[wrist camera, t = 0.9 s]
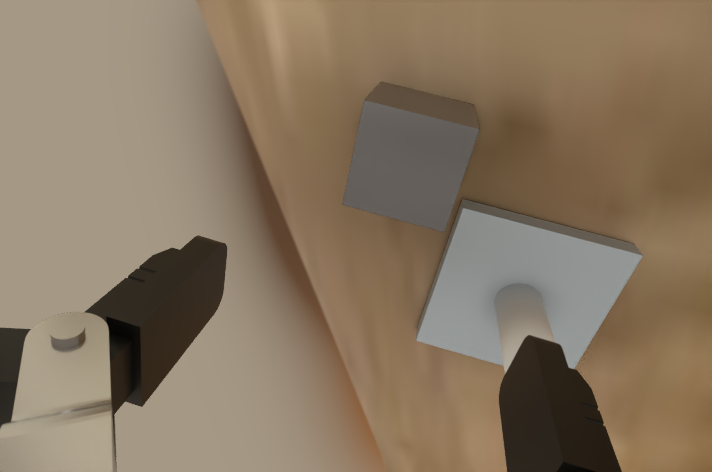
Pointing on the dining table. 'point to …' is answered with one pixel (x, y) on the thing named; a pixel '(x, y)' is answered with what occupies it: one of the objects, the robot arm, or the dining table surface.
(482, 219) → the post base
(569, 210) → the dining table surface
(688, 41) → the dining table surface
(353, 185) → the block
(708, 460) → the dining table surface
